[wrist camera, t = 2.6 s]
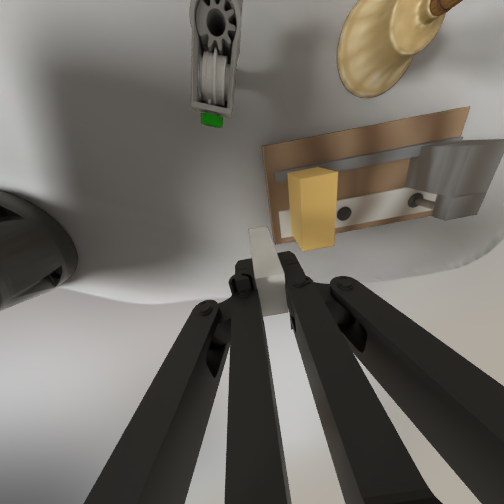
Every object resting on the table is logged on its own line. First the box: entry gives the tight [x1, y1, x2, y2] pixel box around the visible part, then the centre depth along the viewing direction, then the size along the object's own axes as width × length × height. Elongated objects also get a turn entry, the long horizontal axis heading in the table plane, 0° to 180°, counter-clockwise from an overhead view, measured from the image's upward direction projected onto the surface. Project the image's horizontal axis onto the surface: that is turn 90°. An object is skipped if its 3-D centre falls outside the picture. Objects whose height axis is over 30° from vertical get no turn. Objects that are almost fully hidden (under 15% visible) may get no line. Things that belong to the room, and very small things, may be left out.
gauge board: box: [262, 106, 504, 245], centre depth 23 cm, size 24×13×8 cm, turn 100°
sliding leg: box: [287, 167, 338, 251], centre depth 22 cm, size 4×8×6 cm, turn 10°
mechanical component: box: [189, 0, 243, 128], centre depth 15 cm, size 3×10×10 cm, turn 171°
